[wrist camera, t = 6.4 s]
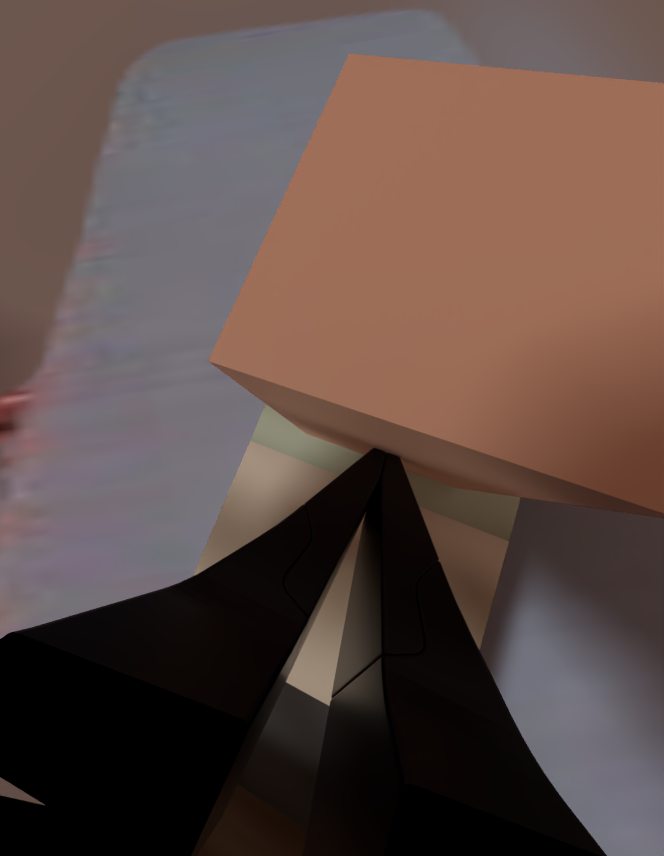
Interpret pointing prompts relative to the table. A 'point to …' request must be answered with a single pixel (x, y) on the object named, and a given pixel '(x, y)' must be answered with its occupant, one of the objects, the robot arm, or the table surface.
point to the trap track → (330, 617)
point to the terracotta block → (472, 281)
